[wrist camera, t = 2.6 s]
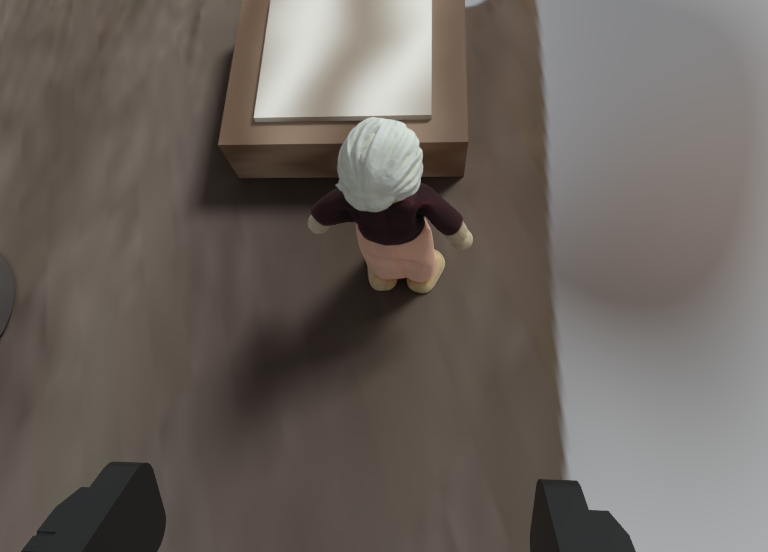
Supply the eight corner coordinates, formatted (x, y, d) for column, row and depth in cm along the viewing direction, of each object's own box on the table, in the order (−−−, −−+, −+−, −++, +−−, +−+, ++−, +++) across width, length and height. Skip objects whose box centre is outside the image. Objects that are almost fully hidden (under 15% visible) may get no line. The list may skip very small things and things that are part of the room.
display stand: (239, 178, 33) (215, 140, 29) (261, 30, 37) (242, -20, 33) (463, 176, 32) (468, 137, 28) (460, 24, 36) (464, -28, 32)
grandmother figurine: (458, 232, 31) (480, 81, 19) (466, 294, 29) (494, 175, 17) (328, 243, 31) (268, 102, 19) (329, 305, 30) (266, 195, 18)
